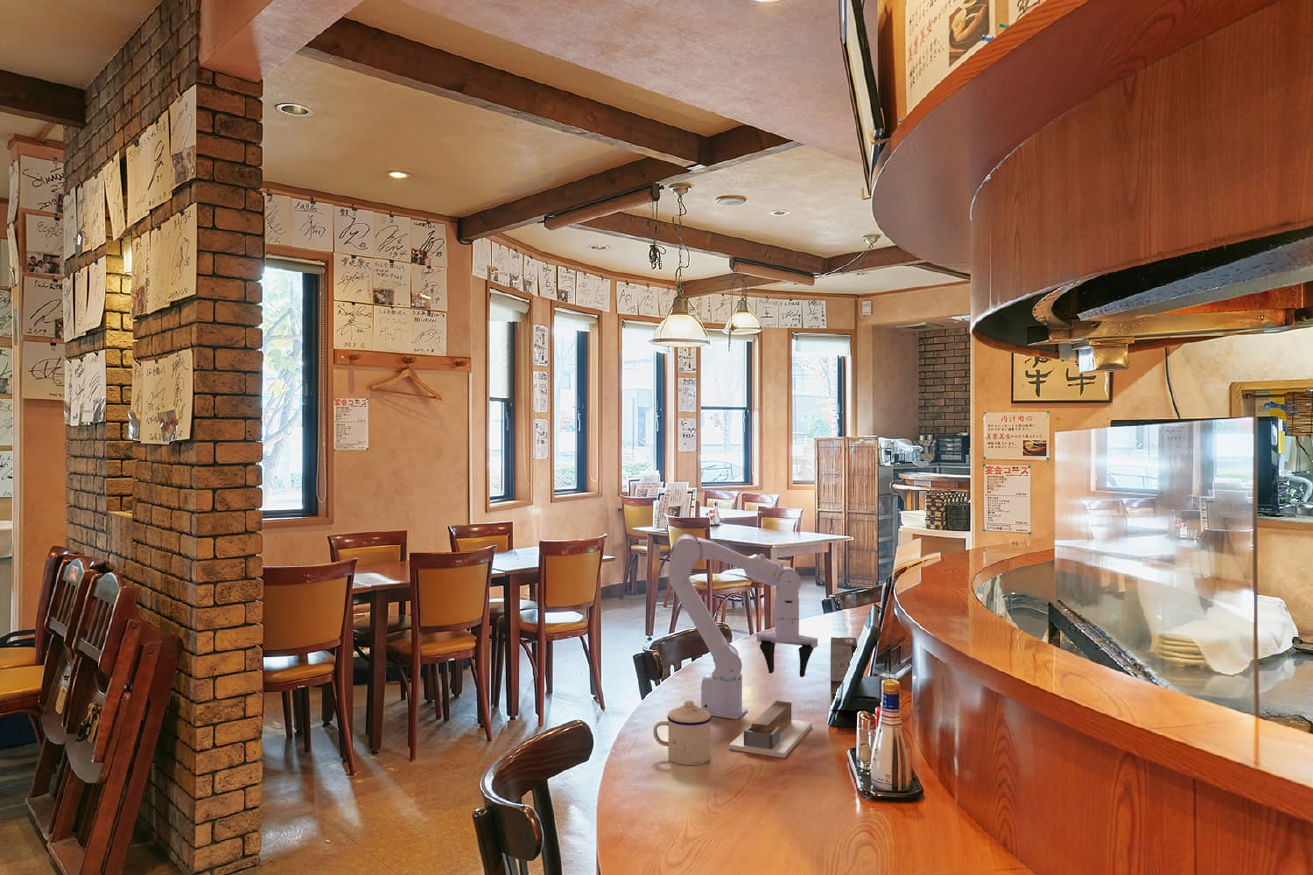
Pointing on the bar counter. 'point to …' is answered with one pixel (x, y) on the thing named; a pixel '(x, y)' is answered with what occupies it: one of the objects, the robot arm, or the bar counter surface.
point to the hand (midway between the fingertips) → (786, 674)
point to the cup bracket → (771, 739)
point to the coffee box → (840, 661)
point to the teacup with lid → (687, 734)
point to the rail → (773, 718)
